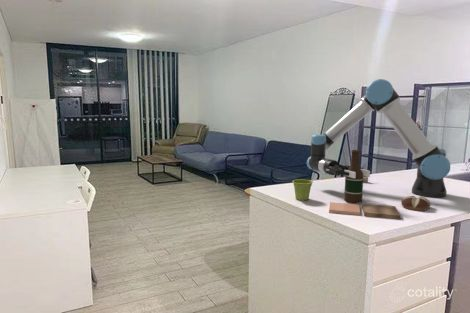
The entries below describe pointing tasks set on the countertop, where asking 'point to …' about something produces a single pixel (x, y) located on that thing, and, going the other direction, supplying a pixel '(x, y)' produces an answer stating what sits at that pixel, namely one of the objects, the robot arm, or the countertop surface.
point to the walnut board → (380, 211)
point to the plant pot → (302, 188)
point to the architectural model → (365, 179)
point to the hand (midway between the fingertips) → (362, 174)
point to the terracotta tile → (344, 208)
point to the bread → (416, 203)
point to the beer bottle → (354, 181)
